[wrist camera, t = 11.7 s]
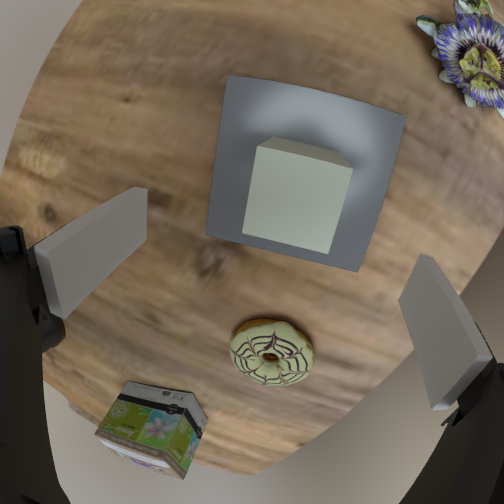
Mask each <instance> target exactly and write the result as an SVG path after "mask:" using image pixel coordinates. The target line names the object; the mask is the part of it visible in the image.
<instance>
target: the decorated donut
mask: <svg viewBox="0 0 504 504" xmlns="http://www.w3.org/2000/svg"><path fill="white" fill-rule="evenodd" d="M229 350H230V356H231V359H232V361H233V363H234V365H235V366H236V368H237V369H238V371H239V372H240V373H242V374H243V375H244V376H246V377H247V378H249V379H250V380H252V381H254V382H257V383H260V384H263V385H269V386H286V385H289V384H292V383H295V382H298V381H300V380H302V379H304V378H306V377H307V376H308V375H309V373H310V371H311V370H312V367H313V364H314V358H313V355H314V353H313V348H312V345H311V344H310V342H309V341H308V339H307V338H306V337H305V336H304V334H302V333H301V332H300V331H298V330H296V329H295V328H294V327H292V326H291V325H290V324H288V323H286V322H284V321H277V320H271V319H259V320H251V321H249V322H246V323H244V324H243V326H242V327H240V328H239V329H238V330H237V332H236V333H235V336H234V338H233V339H231V340H230V349H229ZM268 353H273V354H276V356H275V355H270V354H268Z"/></svg>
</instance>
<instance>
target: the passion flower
mask: <svg viewBox="0 0 504 504" xmlns="http://www.w3.org/2000/svg"><path fill="white" fill-rule="evenodd" d="M473 4H474V5H475V7H474V6H473ZM481 7H484V8H485V9H486V10H487V11H488V12H489V13H490V14H491V15H493V12H492V8H491V6H490V4H489V2H488V1H487V0H468V1H463V0H454V9H455V15H456V22H454V23H449V24H444V23H440V22H438V21H437V20H436V19H434V18H432V17H429V16H425V15H422V16H418V17H417V18H416V24H417V25H418V27H420V28H421V29H422V30H423V31H425V32H426V33H427V34H428V35H430V36H432V37H433V39H434V44H435V45H436V46H435V47H434V48H433V49H432V51H431V52H430V54H431V55H432V56H434V57H435V58H437V59H439V60H440V61H441V62H442V64H443V66H444V67H443V69H441V71H440V73H439V78H440V79H441V80H442V81H444V82H446V83H455V84H456V85H457V88H459V87H460V88H462V89H463V91H462V93H464V99H465V103H466V105H467V106H468V107H477V106H478V105H479V104H481V103H482V111H483V106H484V107H485V108H486V106H487V105H488V106H493V107H494V108H496V110H497V111H498V112H499V114H500V116H501V117H502V118H503V119H504V25H503V24H500V23H498V22H496V21H494V20H493V19H492V17H491V16H490V15H489V14H486V15H483V14H481V13H480V8H481Z"/></svg>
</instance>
